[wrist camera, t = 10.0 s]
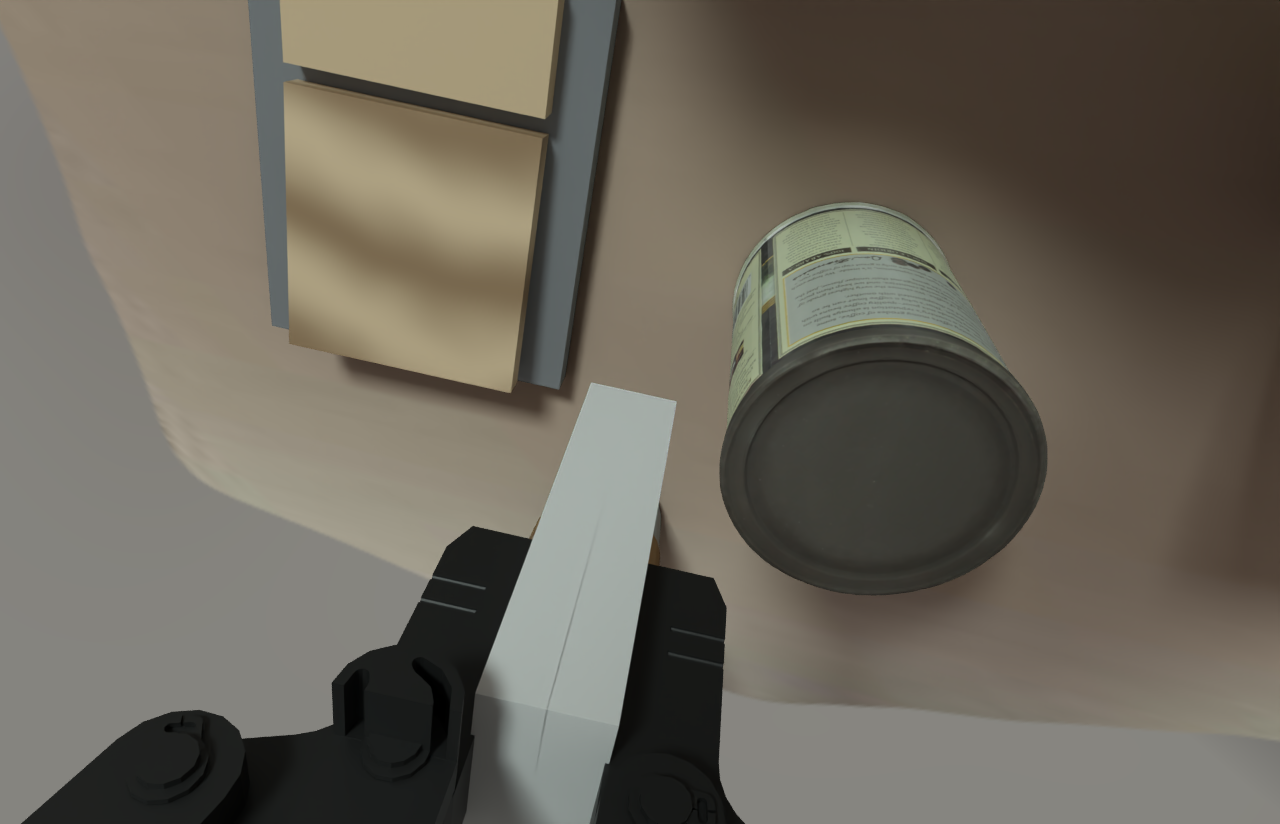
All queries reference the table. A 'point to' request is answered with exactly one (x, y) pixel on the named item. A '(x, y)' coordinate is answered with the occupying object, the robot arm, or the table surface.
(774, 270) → the coffee can
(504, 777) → the robot arm
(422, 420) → the table surface
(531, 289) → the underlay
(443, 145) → the plank
